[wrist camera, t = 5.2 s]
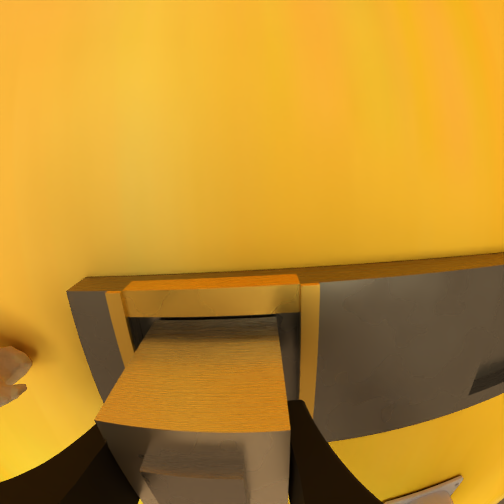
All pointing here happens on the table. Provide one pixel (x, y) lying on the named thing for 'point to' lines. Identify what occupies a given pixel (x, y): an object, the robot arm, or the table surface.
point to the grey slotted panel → (330, 332)
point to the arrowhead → (12, 373)
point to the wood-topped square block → (202, 414)
